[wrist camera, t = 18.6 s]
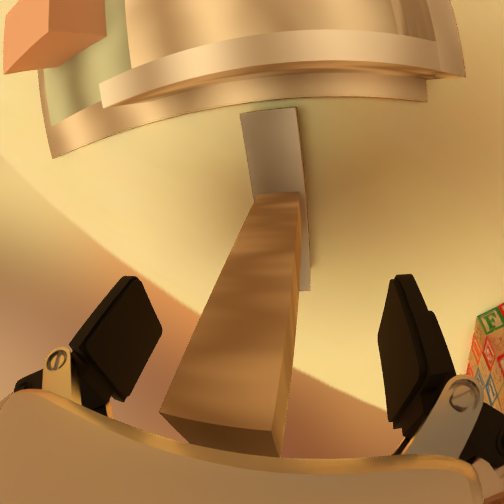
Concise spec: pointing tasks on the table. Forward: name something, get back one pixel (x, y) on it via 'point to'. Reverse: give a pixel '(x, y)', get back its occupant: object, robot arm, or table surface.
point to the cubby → (243, 59)
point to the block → (50, 32)
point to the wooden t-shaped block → (251, 307)
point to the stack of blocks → (489, 356)
